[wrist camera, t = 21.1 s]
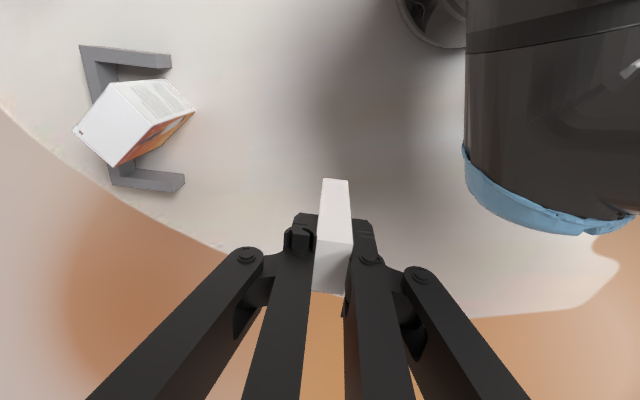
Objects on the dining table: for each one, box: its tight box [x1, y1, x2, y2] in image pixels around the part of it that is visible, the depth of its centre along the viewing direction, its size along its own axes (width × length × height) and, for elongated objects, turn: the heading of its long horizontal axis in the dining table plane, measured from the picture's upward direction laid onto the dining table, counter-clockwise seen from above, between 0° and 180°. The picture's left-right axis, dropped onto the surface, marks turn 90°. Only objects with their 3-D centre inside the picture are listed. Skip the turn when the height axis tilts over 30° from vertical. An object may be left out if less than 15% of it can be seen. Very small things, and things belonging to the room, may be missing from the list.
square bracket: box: [78, 45, 185, 192], centre depth 39 cm, size 18×9×4 cm, turn 174°
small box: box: [71, 78, 195, 168], centre depth 35 cm, size 8×6×10 cm
